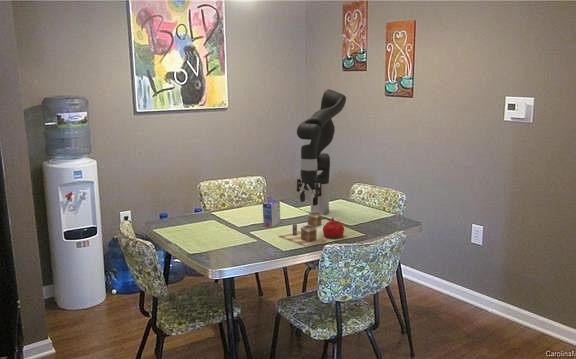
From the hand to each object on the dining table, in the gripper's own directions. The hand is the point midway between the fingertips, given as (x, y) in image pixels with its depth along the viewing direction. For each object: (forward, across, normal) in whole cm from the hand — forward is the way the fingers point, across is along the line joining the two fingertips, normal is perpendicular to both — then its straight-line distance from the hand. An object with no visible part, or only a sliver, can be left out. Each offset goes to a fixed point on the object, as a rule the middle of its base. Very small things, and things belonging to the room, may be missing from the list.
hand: (308, 203), depth 244 cm
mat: (+18, -14, +15) cm, 28 cm away
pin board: (+18, -4, -1) cm, 19 cm away
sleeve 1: (+18, -17, +19) cm, 31 cm away
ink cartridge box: (+19, -33, +4) cm, 38 cm away
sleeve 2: (+17, +1, -1) cm, 17 cm away
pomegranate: (+18, +2, +13) cm, 23 cm away
